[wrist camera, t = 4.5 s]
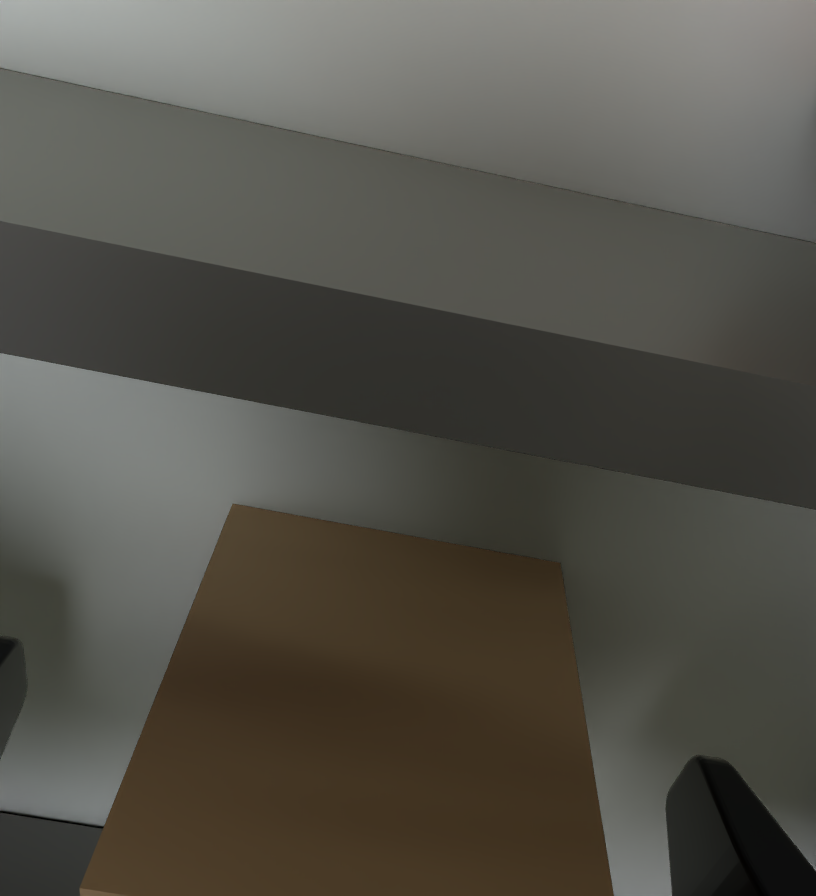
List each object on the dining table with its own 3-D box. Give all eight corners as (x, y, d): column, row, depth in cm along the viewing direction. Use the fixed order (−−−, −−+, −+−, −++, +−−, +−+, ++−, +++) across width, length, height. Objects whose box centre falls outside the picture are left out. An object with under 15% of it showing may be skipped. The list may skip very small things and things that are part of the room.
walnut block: (481, 755, 12) (492, 1144, 8) (216, 711, 11) (98, 1090, 8) (559, 560, 9) (625, 970, 6) (234, 500, 9) (79, 888, 5)
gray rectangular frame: (808, 962, 14) (889, 1196, 12) (-225, 803, 13) (-396, 1021, 11) (1431, 375, 7) (1972, 619, 5) (-626, -68, 6) (-1416, -65, 4)
